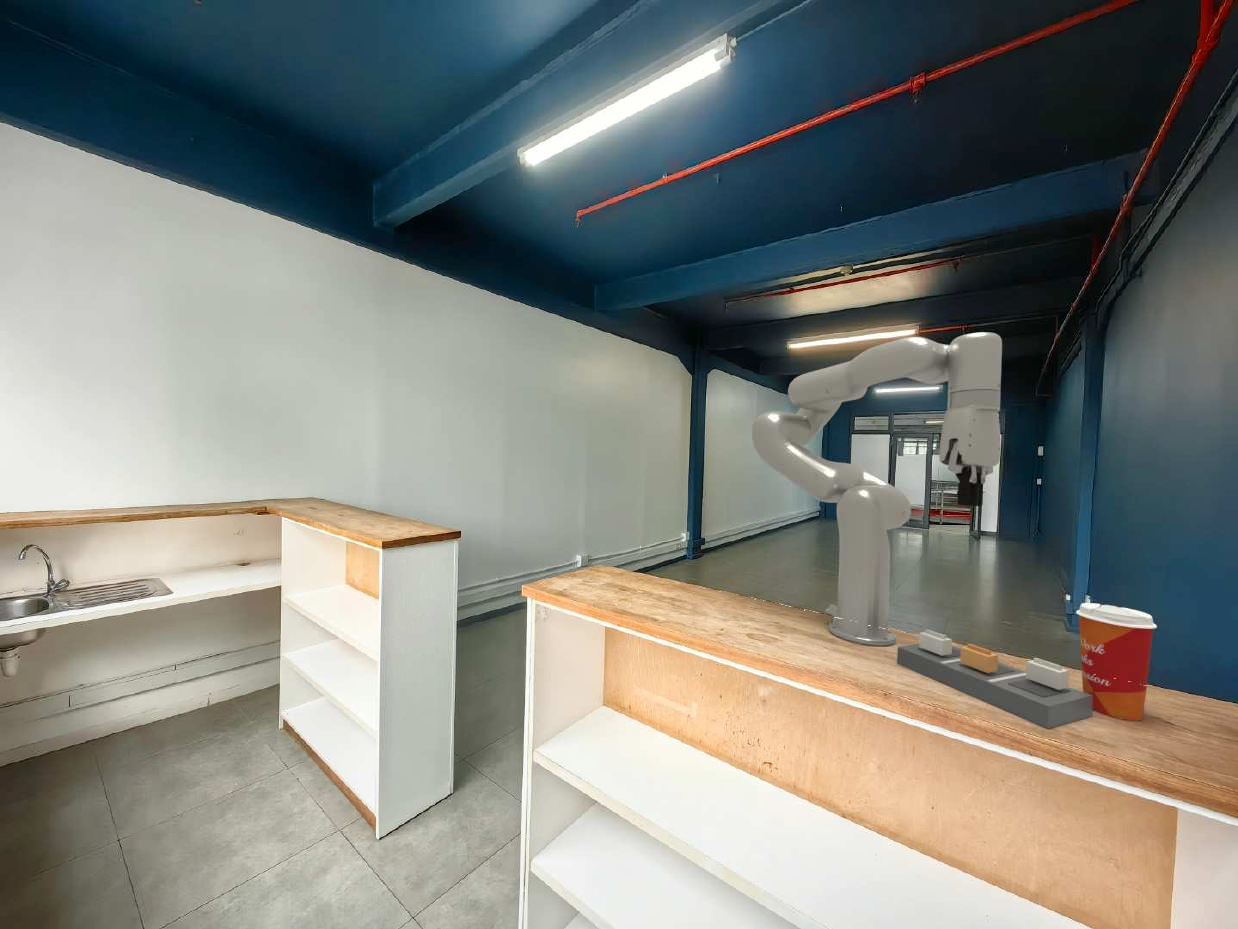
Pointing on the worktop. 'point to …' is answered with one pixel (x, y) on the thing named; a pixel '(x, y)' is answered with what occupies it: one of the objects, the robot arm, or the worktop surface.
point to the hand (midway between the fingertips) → (969, 505)
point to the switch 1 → (935, 642)
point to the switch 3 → (1047, 673)
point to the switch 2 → (979, 658)
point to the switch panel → (1001, 687)
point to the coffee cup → (1115, 658)
